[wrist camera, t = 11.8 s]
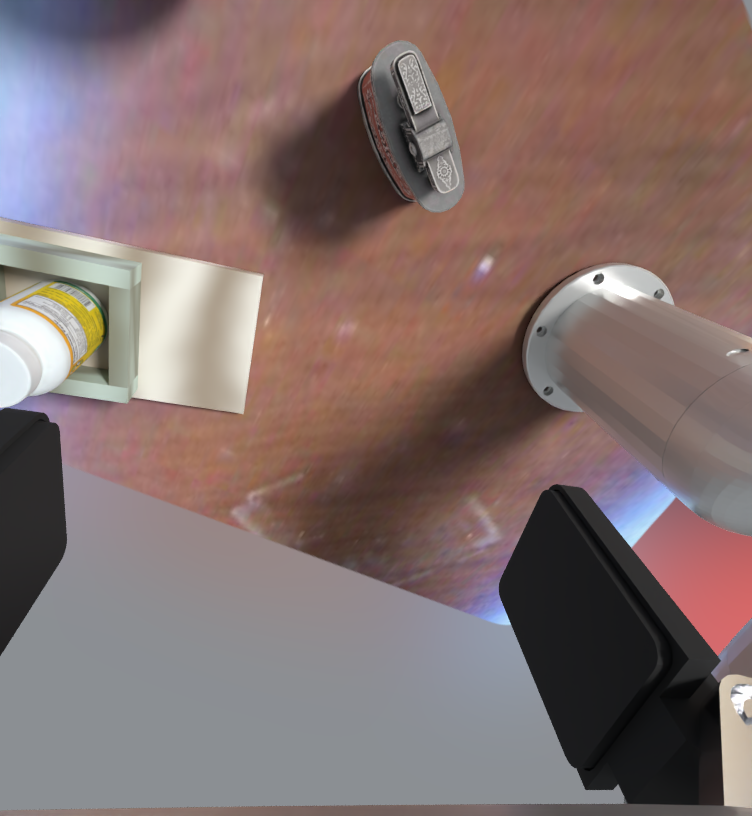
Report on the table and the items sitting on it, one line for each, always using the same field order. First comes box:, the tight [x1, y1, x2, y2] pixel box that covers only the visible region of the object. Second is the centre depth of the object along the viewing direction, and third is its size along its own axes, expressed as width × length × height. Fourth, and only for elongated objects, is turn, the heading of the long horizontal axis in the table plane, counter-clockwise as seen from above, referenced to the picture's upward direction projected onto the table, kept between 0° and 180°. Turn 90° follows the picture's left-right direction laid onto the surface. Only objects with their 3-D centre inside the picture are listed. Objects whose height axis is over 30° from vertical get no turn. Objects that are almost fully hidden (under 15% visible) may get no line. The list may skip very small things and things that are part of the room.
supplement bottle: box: [0, 279, 109, 408], centre depth 28 cm, size 5×5×10 cm
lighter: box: [357, 41, 464, 212], centre depth 27 cm, size 8×3×10 cm, turn 25°
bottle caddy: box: [0, 217, 264, 414], centre depth 33 cm, size 18×11×3 cm, turn 76°
